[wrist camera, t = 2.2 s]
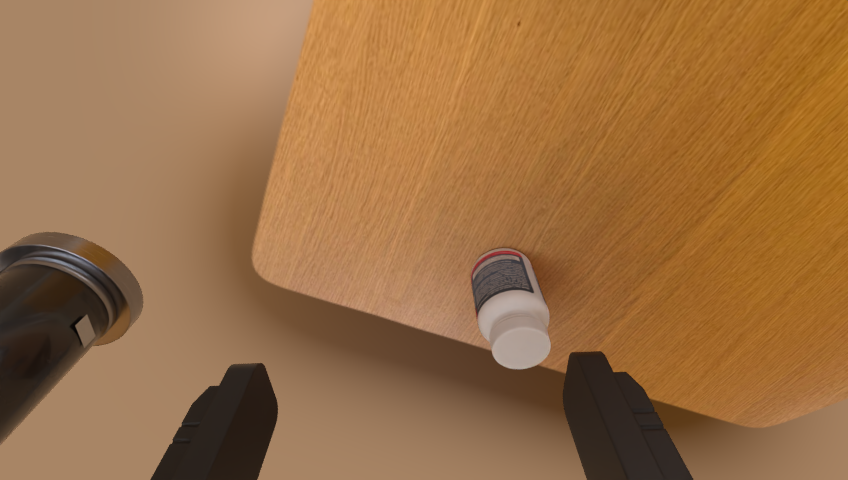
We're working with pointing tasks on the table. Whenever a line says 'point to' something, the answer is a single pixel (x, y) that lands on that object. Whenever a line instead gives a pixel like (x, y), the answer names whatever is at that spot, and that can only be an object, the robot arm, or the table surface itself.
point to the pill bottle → (511, 308)
